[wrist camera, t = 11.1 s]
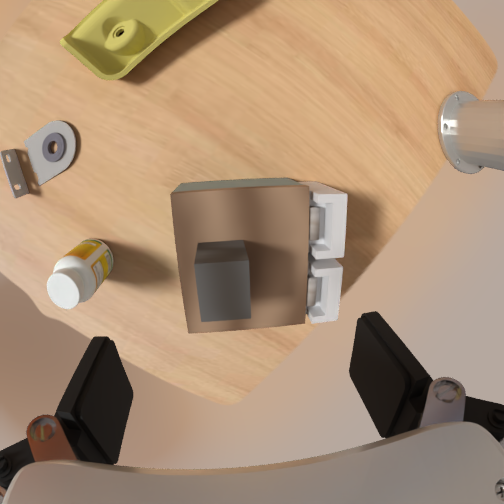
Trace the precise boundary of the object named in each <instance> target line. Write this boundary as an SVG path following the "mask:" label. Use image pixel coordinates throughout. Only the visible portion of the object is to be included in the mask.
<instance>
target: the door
mask: <svg viewBox="0 0 504 504" xmlns="http://www.w3.org/2000/svg"><path fill="white" fill-rule="evenodd" d="M171 205H172V216H173V226H174V235H175V244H176V252H177V260H178V268H179V275H180V282H181V289H182V296H183V303H184V309H185V315H186V321H187V327H188V333H207V332H222V331H235V330H247V329H258V328H269V327H278V326H287V325H296V324H305V313H306V306H314V305H315V304H316V292H317V277H315V276H314V275H307V274H308V246H309V240H319V231H320V207H319V206H309V186H307V185H280V186H254V187H235V188H218V189H204V190H191V191H179V192H172V193H171Z"/></svg>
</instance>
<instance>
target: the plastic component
mask: <svg viewBox="0 0 504 504" xmlns="http://www.w3.org/2000/svg"><path fill="white" fill-rule="evenodd" d="M217 1H218V0H103V1H102V2H101V3H100V4H99V5H98V6H97V7H96V8H94V9H93V10H92V11H91V12H90V13H89V14H88V15H87V16H86V17H85V18H84V19H83V20H82V21H81V22H80V23H79V24H78V25H77V26H76V27H75V28H74V29H73V30H72V31H71V32H70V33H69V34H68V35H66V36H65V37H63V38H62V40H61V41H60V44H61V45H62V46H63V47H64V48H65V49H66V50H67V51H69V52H70V53H71V54H72V55H73V56H74V57H76V58H77V59H78V60H79V61H80V62H81V63H83V64H84V65H85V66H86V67H87V68H88V69H89V70H91V71H92V72H93V73H94V74H95V75H96V76H97V77H99V78H101V79H104V80H116V79H119V78H122V77H123V76H125V75H126V74H128V73H129V72H130V71H131V70H132V69H133V68H134V67H135V66H136V65H137V64H138V63H139V62H140V61H141V60H142V59H144V58H145V57H146V56H147V55H148V54H149V53H150V52H152V51H153V50H154V49H155V48H156V47H157V46H159V45H160V44H161V43H162V42H163V41H165V40H166V39H167V38H168V37H169V36H171V35H172V34H173V33H175V32H176V31H177V30H178V29H180V28H181V27H182V26H184V25H185V24H186V23H188V22H189V21H190V20H192V19H193V18H194V17H196V16H197V15H199V14H200V13H202V12H203V11H204V10H206V9H207V8H208V7H210V6H211V5H213V4H214V3H216V2H217ZM122 31H124V33H123V34H122V35H121V36H119V37H118V35H119V34H120V33H121V32H122Z"/></svg>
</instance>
